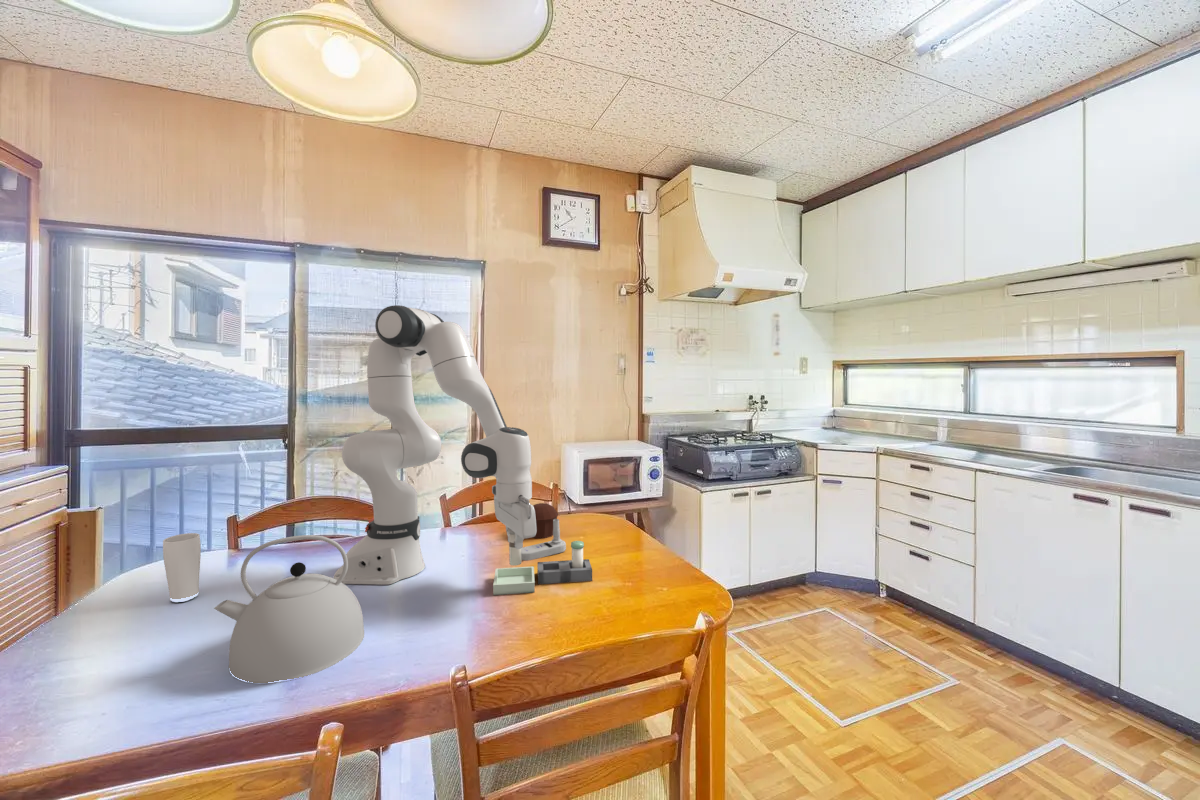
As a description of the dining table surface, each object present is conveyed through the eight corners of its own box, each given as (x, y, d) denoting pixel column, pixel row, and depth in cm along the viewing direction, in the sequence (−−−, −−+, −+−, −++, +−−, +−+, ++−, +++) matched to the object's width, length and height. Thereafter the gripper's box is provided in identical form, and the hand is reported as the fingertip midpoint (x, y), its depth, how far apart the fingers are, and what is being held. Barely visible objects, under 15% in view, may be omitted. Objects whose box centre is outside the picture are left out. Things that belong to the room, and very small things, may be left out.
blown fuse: (506, 564, 122) (505, 529, 122) (513, 560, 125) (512, 525, 125) (517, 566, 121) (517, 531, 120) (524, 561, 124) (524, 527, 124)
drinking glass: (209, 595, 117) (206, 535, 116) (175, 608, 111) (171, 544, 110) (193, 590, 120) (190, 531, 119) (159, 602, 114) (156, 539, 113)
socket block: (538, 584, 124) (538, 572, 124) (537, 572, 131) (537, 562, 131) (592, 580, 126) (592, 569, 126) (588, 569, 133) (588, 559, 133)
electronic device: (514, 525, 142) (560, 516, 150) (515, 557, 143) (561, 546, 151) (521, 530, 138) (568, 520, 145) (522, 563, 139) (568, 552, 146)
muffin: (542, 542, 154) (542, 511, 154) (516, 536, 160) (516, 506, 160) (565, 532, 164) (565, 503, 164) (540, 526, 170) (539, 498, 170)
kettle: (191, 701, 80) (184, 568, 79) (236, 632, 101) (231, 526, 100) (359, 667, 89) (355, 548, 88) (368, 610, 110) (365, 513, 109)
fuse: (571, 579, 127) (571, 545, 127) (570, 573, 130) (570, 541, 130) (584, 578, 128) (584, 544, 127) (583, 572, 131) (583, 540, 130)
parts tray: (493, 595, 118) (493, 585, 118) (495, 577, 128) (495, 568, 128) (534, 592, 119) (534, 582, 119) (533, 575, 129) (533, 566, 129)
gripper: (542, 498, 115) (543, 555, 116) (512, 482, 132) (513, 532, 133) (517, 502, 112) (518, 561, 112) (489, 485, 129) (490, 536, 130)
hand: (515, 545), depth 123 cm, fingers closed on blown fuse, 3 cm apart
